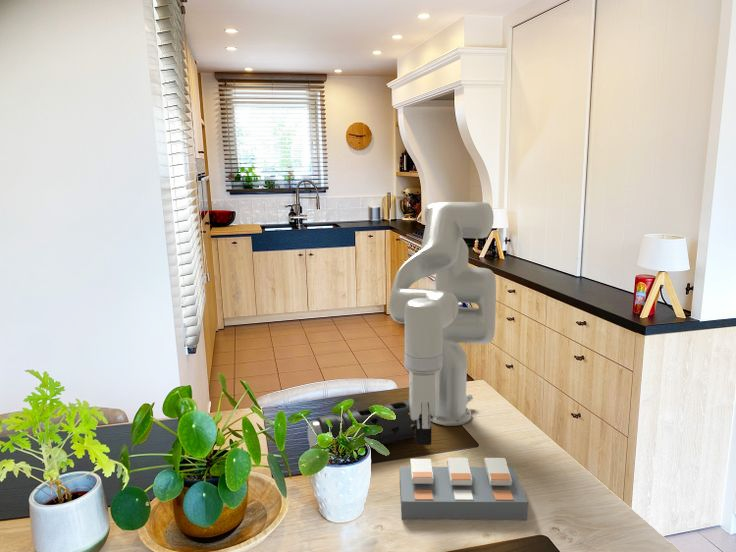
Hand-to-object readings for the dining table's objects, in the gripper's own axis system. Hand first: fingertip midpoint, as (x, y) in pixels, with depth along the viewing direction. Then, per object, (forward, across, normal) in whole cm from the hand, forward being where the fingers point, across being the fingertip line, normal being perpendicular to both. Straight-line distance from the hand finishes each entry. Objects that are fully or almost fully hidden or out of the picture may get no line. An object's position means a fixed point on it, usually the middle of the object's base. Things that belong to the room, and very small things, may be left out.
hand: (423, 442), depth 116 cm
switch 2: (+9, -1, +8) cm, 12 cm away
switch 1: (+9, -1, 0) cm, 9 cm away
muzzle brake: (+14, -22, -13) cm, 29 cm away
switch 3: (+9, -1, +16) cm, 18 cm away
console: (+13, +1, +8) cm, 15 cm away
